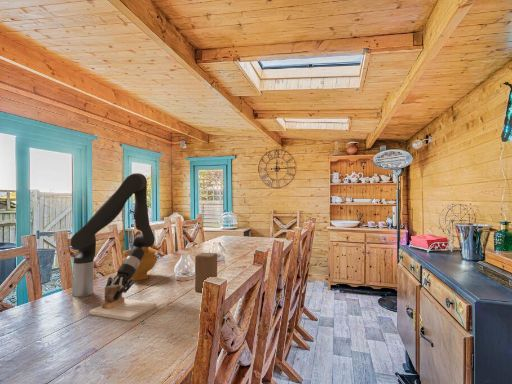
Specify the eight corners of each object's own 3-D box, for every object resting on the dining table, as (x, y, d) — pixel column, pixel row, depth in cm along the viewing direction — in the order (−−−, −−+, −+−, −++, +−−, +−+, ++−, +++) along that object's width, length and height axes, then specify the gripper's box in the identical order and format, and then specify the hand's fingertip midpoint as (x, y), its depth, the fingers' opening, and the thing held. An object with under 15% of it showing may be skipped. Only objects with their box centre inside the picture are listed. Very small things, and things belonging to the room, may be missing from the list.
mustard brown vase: (138, 272, 209) (138, 228, 210) (163, 275, 202) (164, 229, 202) (114, 280, 190) (114, 231, 190) (140, 283, 182) (141, 233, 182)
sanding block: (101, 307, 139) (102, 288, 139) (116, 301, 148) (116, 282, 148) (110, 309, 138) (110, 289, 138) (124, 302, 146) (124, 283, 146)
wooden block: (211, 293, 165) (211, 256, 165) (194, 292, 167) (194, 255, 167) (217, 287, 175) (217, 252, 175) (201, 286, 177) (201, 252, 177)
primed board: (89, 314, 136) (89, 310, 136) (118, 300, 153) (118, 297, 153) (129, 320, 129) (129, 317, 129) (156, 306, 146) (156, 302, 146)
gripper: (113, 261, 152) (93, 293, 140) (137, 263, 148) (118, 297, 136) (121, 269, 157) (102, 301, 145) (144, 272, 153) (127, 304, 141)
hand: (110, 299), depth 141 cm, fingers closed on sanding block, 4 cm apart
